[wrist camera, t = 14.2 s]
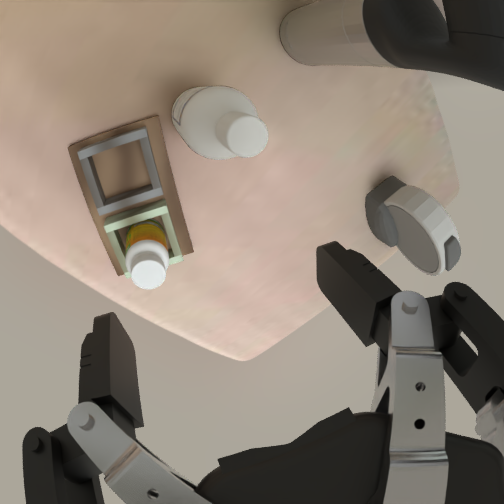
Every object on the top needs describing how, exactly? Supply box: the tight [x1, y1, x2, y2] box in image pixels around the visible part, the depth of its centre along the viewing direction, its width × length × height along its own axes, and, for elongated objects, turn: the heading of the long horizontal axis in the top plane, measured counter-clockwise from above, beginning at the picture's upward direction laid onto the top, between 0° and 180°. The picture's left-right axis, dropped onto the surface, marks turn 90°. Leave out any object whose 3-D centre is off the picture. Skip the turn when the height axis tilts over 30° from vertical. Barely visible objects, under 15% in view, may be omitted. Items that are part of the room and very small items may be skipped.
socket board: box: [68, 116, 194, 278], centre depth 36 cm, size 12×20×4 cm, turn 9°
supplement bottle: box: [125, 218, 169, 289], centre depth 35 cm, size 5×5×10 cm
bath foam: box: [172, 86, 268, 160], centre depth 26 cm, size 7×7×20 cm
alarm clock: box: [365, 176, 461, 276], centre depth 46 cm, size 16×10×18 cm, turn 33°
